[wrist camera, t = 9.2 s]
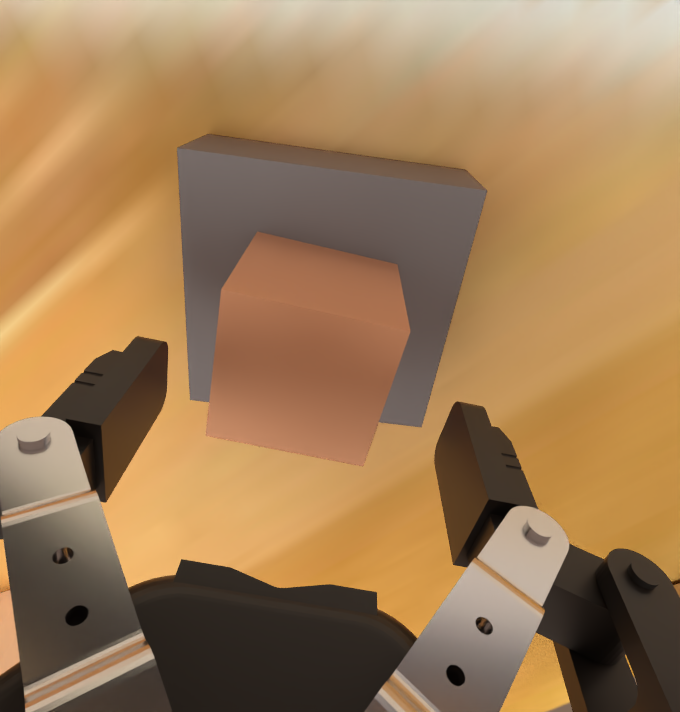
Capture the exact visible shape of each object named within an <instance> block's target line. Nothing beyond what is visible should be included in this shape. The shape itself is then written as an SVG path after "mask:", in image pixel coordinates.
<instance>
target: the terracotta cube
mask: <svg viewBox="0 0 680 712" xmlns="http://www.w3.org/2000/svg"><path fill="white" fill-rule="evenodd" d="M409 334H410V326H409V321H408V316H407V311H406V306H405V301H404V296H403V290H402V285H401V280H400V275H399V270H398V265H397V264H394V263H390V262H385V261H381V260H377V259H372V258H368V257H364V256H360V255H355V254H351V253H347V252H343V251H338V250H334V249H330V248H326V247H321V246H317V245H313V244H309V243H304V242H300V241H296V240H291V239H287V238H283V237H279V236H274V235H270V234H266V233H261V232H257V233H256V235H255V236H254V238H253V239H252V241H251V243H250V244H249V246H248V247H247V249H246V251H245V252H244V254H243V255H242V257H241V259H240V260H239V262H238V263H237V265H236V267H235V268H234V270H233V271H232V273H231V275H230V276H229V278H228V279H227V281H226V283H225V284H224V286H223V287H222V289H221V296H220V306H219V315H218V324H217V334H216V343H215V353H214V362H213V372H212V381H211V390H210V400H209V409H208V419H207V428H206V436H210V437H215V438H220V439H225V440H230V441H235V442H240V443H246V444H251V445H256V446H261V447H266V448H271V449H276V450H282V451H287V452H292V453H297V454H302V455H307V456H312V457H317V458H323V459H328V460H333V461H338V462H343V463H348V464H353V465H359V466H363V465H364V463H365V460H366V457H367V454H368V451H369V448H370V446H371V443H372V440H373V437H374V434H375V431H376V428H377V426H378V423H379V420H380V417H381V414H382V411H383V408H384V406H385V403H386V400H387V397H388V394H389V391H390V388H391V386H392V383H393V380H394V377H395V374H396V371H397V368H398V366H399V363H400V360H401V357H402V354H403V351H404V348H405V346H406V343H407V340H408V337H409Z"/></svg>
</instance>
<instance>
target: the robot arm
mask: <svg viewBox="0 0 680 712" xmlns="http://www.w3.org/2000/svg"><path fill="white" fill-rule="evenodd" d="M167 368H168V345H167V343H166V342H164V341H159V340H154V339H149V338H144V337H139V336H137V337H136V338H135V339H134V340H133V341H132V342H131V343H130V344H129V345H128V347H127V348H126V349H125V350H124V351H123V352H119V351H114V350H112V351H110V352H108V353H106V354H104V355H102V356H100V357H98V358H96V359H95V360H94V361H93V362H92V363H91V364H90V365H89V366H88V367H87V368H86V369H85V370H84V373H81V374H80V376H79V377H78V378H77V379H76V380H75V383H72V384H71V385H70V386H69V387H68V388H67V389H66V390H65V392H64V393H63V394H62V395H61V396H60V397H59V398H58V399H57V400H56V401H55V402H54V403H53V404H52V405H51V406H50V408H49V409H48V410H47V411H46V412H45V413H44V414H43V415H42V416H41V417H32V418H27V419H23V420H20V421H17V422H15V423H13V424H10V425H9V426H7V427H5V428H4V429H3V430H1V431H0V539H4V547H5V554H6V562H7V569H8V576H9V584H10V591H11V599H12V606H13V613H14V621H15V628H16V636H17V643H18V650H19V658H20V662H18V663H17V664H15V665H14V666H13V667H11V668H10V669H8V670H7V671H5V672H4V673H3V674H1V675H0V712H499V711H500V709H501V707H502V705H503V703H504V701H505V698H506V696H507V694H508V692H509V690H510V687H511V685H512V683H513V681H514V679H515V676H516V674H517V672H518V670H519V668H520V666H521V663H522V661H523V659H524V657H525V655H526V652H527V650H528V648H529V646H530V644H531V641H532V639H533V637H534V635H535V633H538V634H540V635H542V636H544V637H546V638H548V639H551V640H553V643H554V646H555V650H556V653H557V657H558V661H559V664H560V668H561V671H562V675H563V678H564V682H565V685H566V689H567V692H568V696H569V700H570V703H571V707H572V710H573V712H680V583H679V584H675V585H673V584H672V583H671V581H670V579H669V578H668V577H667V575H666V574H665V573H664V572H663V571H662V570H661V569H660V568H659V567H658V566H657V565H656V564H654V563H653V562H652V561H650V560H649V559H647V558H646V557H644V556H643V555H641V554H639V553H636V552H634V551H631V550H628V549H614V550H613V551H611V552H610V553H609V554H608V556H607V557H606V558H605V559H602V558H599V557H597V556H595V555H593V554H590V553H588V552H586V551H584V550H582V549H579V548H577V547H575V546H573V545H571V544H569V541H568V538H567V535H566V533H565V532H564V530H563V529H562V527H561V526H560V525H559V524H558V523H557V522H556V521H555V520H554V519H553V518H552V517H550V516H549V515H547V514H546V513H544V512H542V511H540V510H538V507H537V505H536V502H535V500H534V497H533V495H532V492H531V490H530V488H529V485H528V483H527V480H526V478H525V475H524V473H523V471H522V470H521V465H520V463H519V460H518V459H517V458H516V457H517V455H516V453H515V450H514V448H513V445H512V443H511V441H510V440H509V439H508V438H507V436H506V435H505V434H504V433H503V432H502V431H501V430H500V428H497V427H492V426H491V424H490V421H489V418H488V415H487V413H486V410H485V408H484V407H482V406H477V405H472V404H467V403H463V402H456V403H455V404H454V405H453V407H452V409H451V411H450V414H449V416H448V418H447V421H446V423H445V426H444V428H443V430H442V433H441V435H440V437H439V440H438V442H437V445H436V450H435V460H434V461H435V468H436V474H437V479H438V485H439V490H440V496H441V501H442V506H443V512H444V517H445V523H446V528H447V534H448V539H449V544H450V550H451V555H452V561H453V565H457V566H463V567H468V568H467V569H466V570H465V572H464V573H463V575H462V576H461V578H460V579H459V580H458V582H457V583H456V585H455V586H454V588H453V589H452V590H451V592H450V593H449V595H448V596H447V598H446V599H445V600H444V602H443V603H442V605H441V606H440V607H439V609H438V610H437V612H436V613H435V615H434V616H433V617H432V619H431V620H430V622H429V623H428V625H427V626H426V627H425V629H424V630H423V632H422V633H421V635H420V636H419V637H418V639H417V638H416V637H415V635H414V634H413V633H412V632H411V631H409V630H408V629H407V628H406V627H405V626H404V625H403V624H401V623H400V622H399V621H397V620H396V619H395V618H393V617H391V616H390V615H388V614H386V613H385V612H383V611H381V610H378V609H377V592H372V591H366V590H360V589H354V588H348V587H342V586H336V585H330V584H329V585H317V586H305V587H293V588H277V587H274V586H271V585H269V584H267V583H264V582H262V581H260V580H258V579H255V578H253V577H251V576H248V575H246V574H244V573H242V572H239V571H237V570H235V569H233V568H230V567H224V566H218V565H212V564H206V563H200V562H194V561H188V560H182V559H181V562H180V565H179V567H178V570H177V573H176V575H172V576H164V577H159V578H154V579H151V580H147V581H144V582H141V583H139V584H136V585H134V586H132V587H129V588H128V586H127V583H126V580H125V577H124V574H123V571H122V568H121V565H120V562H119V558H118V555H117V552H116V549H115V546H114V543H113V540H112V537H111V534H110V531H109V528H108V525H107V521H106V518H105V515H104V512H103V509H102V506H101V503H100V502H107V500H108V498H109V497H110V495H111V493H112V492H113V490H114V488H115V487H116V485H117V483H118V482H119V480H120V478H121V477H122V475H123V473H124V472H125V470H126V468H127V467H128V465H129V463H130V462H131V460H132V458H133V457H134V455H135V453H136V451H137V450H138V448H139V446H140V445H141V443H142V441H143V440H144V438H145V436H146V435H147V433H148V431H149V430H150V428H151V426H152V425H153V423H154V421H155V420H156V418H157V416H158V415H159V413H160V411H161V409H162V407H163V404H164V401H165V397H166V392H167ZM625 654H626V655H627V658H628V660H629V663H630V665H631V668H632V670H633V673H634V675H635V678H636V682H637V685H636V683H635V680H634V678H633V675H632V673H631V670H630V668H629V665H628V663H627V660H626V658H625Z"/></svg>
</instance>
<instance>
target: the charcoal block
mask: <svg viewBox="0 0 680 712" xmlns="http://www.w3.org/2000/svg"><path fill="white" fill-rule="evenodd" d="M177 156H178V175H179V195H180V214H181V233H182V253H183V272H184V292H185V311H186V330H187V350H188V369H189V389H190V400H196V401H204V402H209V400H210V390H211V381H212V372H213V362H214V353H215V343H216V334H217V324H218V315H219V306H220V296H221V289H222V287H223V286H224V284H225V283H226V281H227V279H228V278H229V276H230V275H231V273H232V271H233V270H234V268H235V267H236V265H237V263H238V262H239V260H240V259H241V257H242V255H243V254H244V252H245V251H246V249H247V247H248V246H249V244H250V243H251V241H252V239H253V238H254V236H255V235H256V233H257V232H261V233H266V234H270V235H274V236H279V237H283V238H287V239H291V240H296V241H300V242H304V243H309V244H313V245H317V246H321V247H326V248H330V249H334V250H338V251H343V252H347V253H351V254H355V255H360V256H364V257H368V258H372V259H377V260H381V261H385V262H390V263H394V264H397V265H398V270H399V275H400V280H401V285H402V290H403V296H404V301H405V306H406V311H407V316H408V321H409V326H410V334H409V337H408V340H407V343H406V346H405V348H404V351H403V354H402V357H401V360H400V363H399V366H398V368H397V371H396V374H395V377H394V380H393V383H392V386H391V388H390V391H389V394H388V397H387V400H386V403H385V406H384V408H383V411H382V414H381V417H380V420H379V422H381V423H390V424H398V425H407V426H415V427H422V423H423V420H424V416H425V413H426V409H427V405H428V402H429V398H430V395H431V391H432V387H433V384H434V380H435V377H436V373H437V369H438V366H439V362H440V359H441V355H442V352H443V348H444V344H445V341H446V337H447V334H448V330H449V326H450V323H451V319H452V316H453V312H454V308H455V305H456V301H457V298H458V294H459V290H460V287H461V283H462V280H463V276H464V272H465V269H466V265H467V262H468V258H469V254H470V251H471V247H472V244H473V240H474V236H475V233H476V229H477V226H478V222H479V218H480V215H481V211H482V208H483V204H484V200H485V197H486V193H487V190H486V189H485V188H484V187H483V186H482V185H481V184H480V183H479V182H478V181H477V180H476V179H475V178H474V177H473V176H472V175H470V174H469V173H468V172H467V171H466V170H463V169H456V168H448V167H441V166H434V165H427V164H420V163H412V162H405V161H398V160H391V159H384V158H377V157H369V156H362V155H355V154H348V153H341V152H333V151H326V150H319V149H312V148H305V147H297V146H290V145H283V144H276V143H269V142H262V141H254V140H247V139H240V138H233V137H226V136H218V135H211V134H207V135H204V136H202V137H200V138H198V139H196V140H193V141H191V142H189V143H187V144H185V145H182V146H180V147H178V148H177Z"/></svg>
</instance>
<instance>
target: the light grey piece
mask: <svg viewBox="0 0 680 712" xmlns="http://www.w3.org/2000/svg"><path fill="white" fill-rule="evenodd" d="M18 662H20V658H19V650H18V643H17V636H16V628H15V621H14V613H13V606H12V599H11V591H10V590H8V591H5V592H2V593H0V675H1V674H3V673H4V672H5V671H7V670H8V669H10V668H11V667H13V666H14V665H15V664H17V663H18Z"/></svg>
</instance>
